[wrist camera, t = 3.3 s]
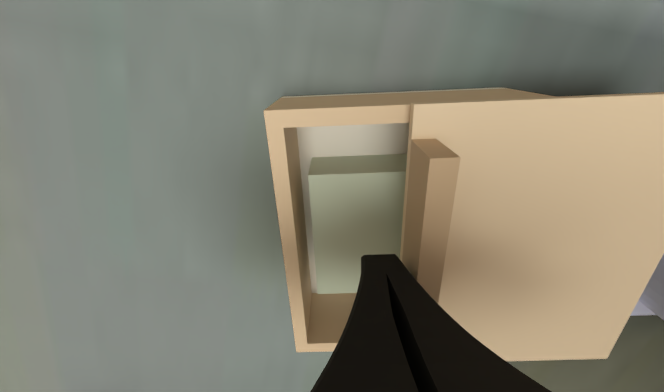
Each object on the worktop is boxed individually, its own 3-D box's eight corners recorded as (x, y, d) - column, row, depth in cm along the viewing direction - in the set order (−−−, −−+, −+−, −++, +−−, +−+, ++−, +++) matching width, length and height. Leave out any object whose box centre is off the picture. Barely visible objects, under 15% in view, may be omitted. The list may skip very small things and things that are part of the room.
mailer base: (501, 87, 13) (565, 98, 10) (462, 290, 18) (494, 346, 15) (282, 96, 13) (263, 110, 10) (303, 294, 19) (296, 352, 15)
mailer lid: (735, 89, 9) (860, 98, 7) (600, 351, 14) (647, 403, 12) (411, 102, 9) (434, 116, 7) (392, 356, 15) (403, 408, 12)
